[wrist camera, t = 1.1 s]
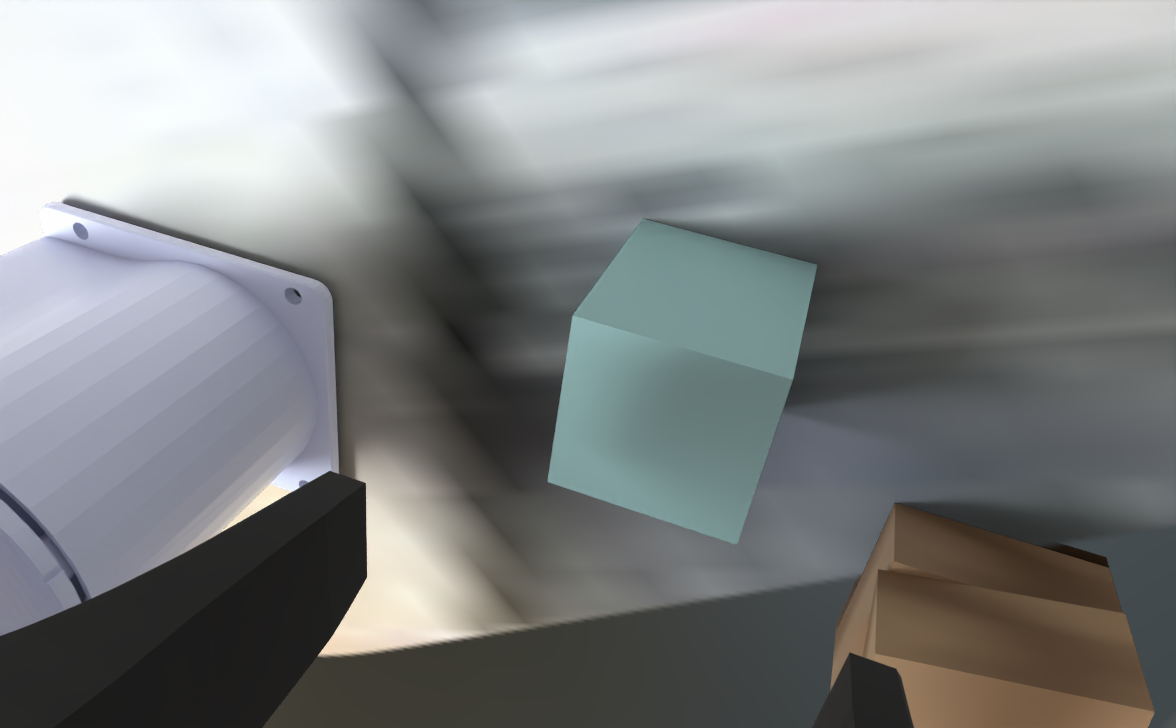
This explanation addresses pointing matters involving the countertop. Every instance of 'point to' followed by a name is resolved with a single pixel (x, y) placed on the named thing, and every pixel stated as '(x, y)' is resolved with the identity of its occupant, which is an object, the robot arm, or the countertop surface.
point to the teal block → (680, 377)
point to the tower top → (1005, 657)
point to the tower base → (970, 570)
